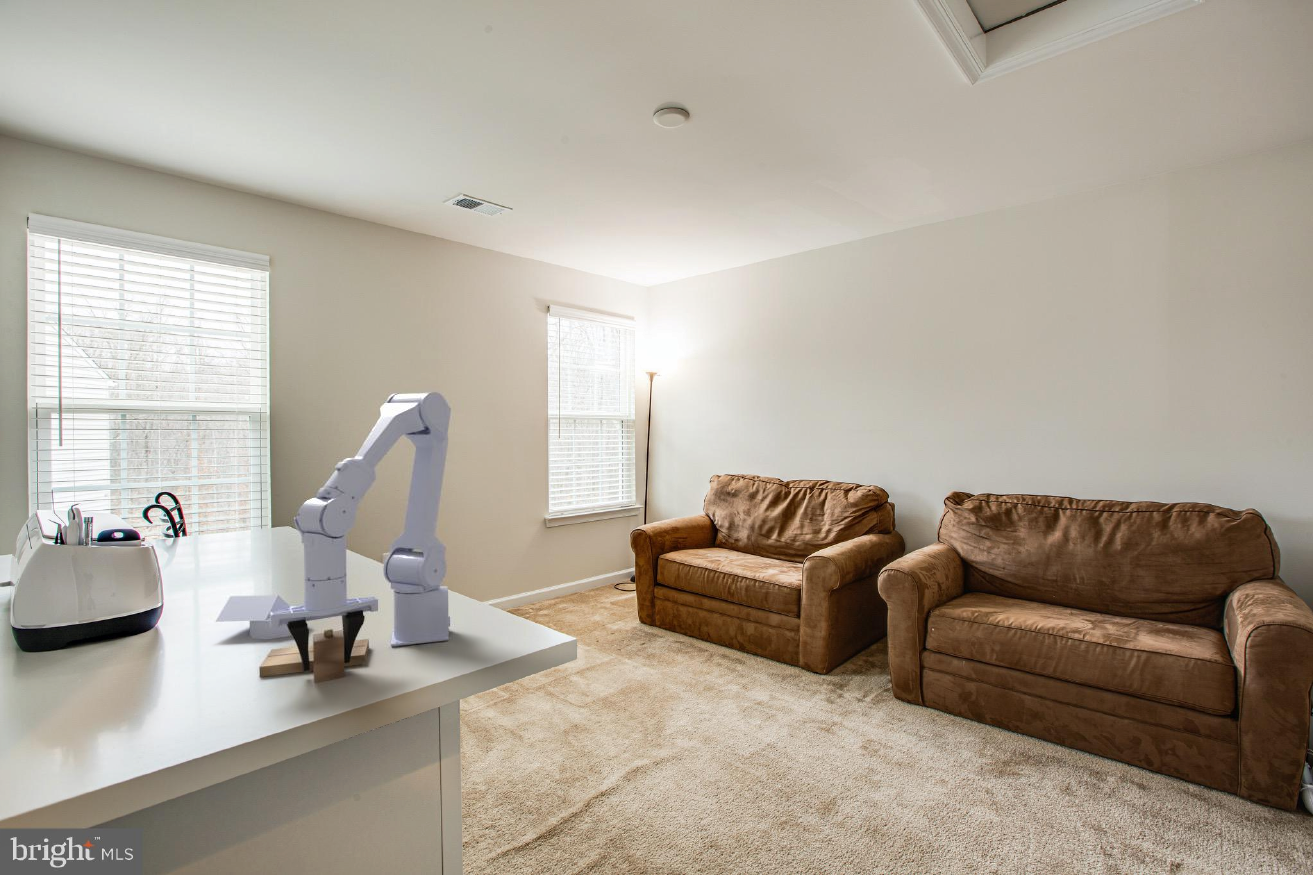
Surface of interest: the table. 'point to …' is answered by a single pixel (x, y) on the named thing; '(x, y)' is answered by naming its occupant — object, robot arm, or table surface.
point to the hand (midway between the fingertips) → (326, 664)
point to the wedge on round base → (256, 614)
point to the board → (291, 659)
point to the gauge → (328, 655)
